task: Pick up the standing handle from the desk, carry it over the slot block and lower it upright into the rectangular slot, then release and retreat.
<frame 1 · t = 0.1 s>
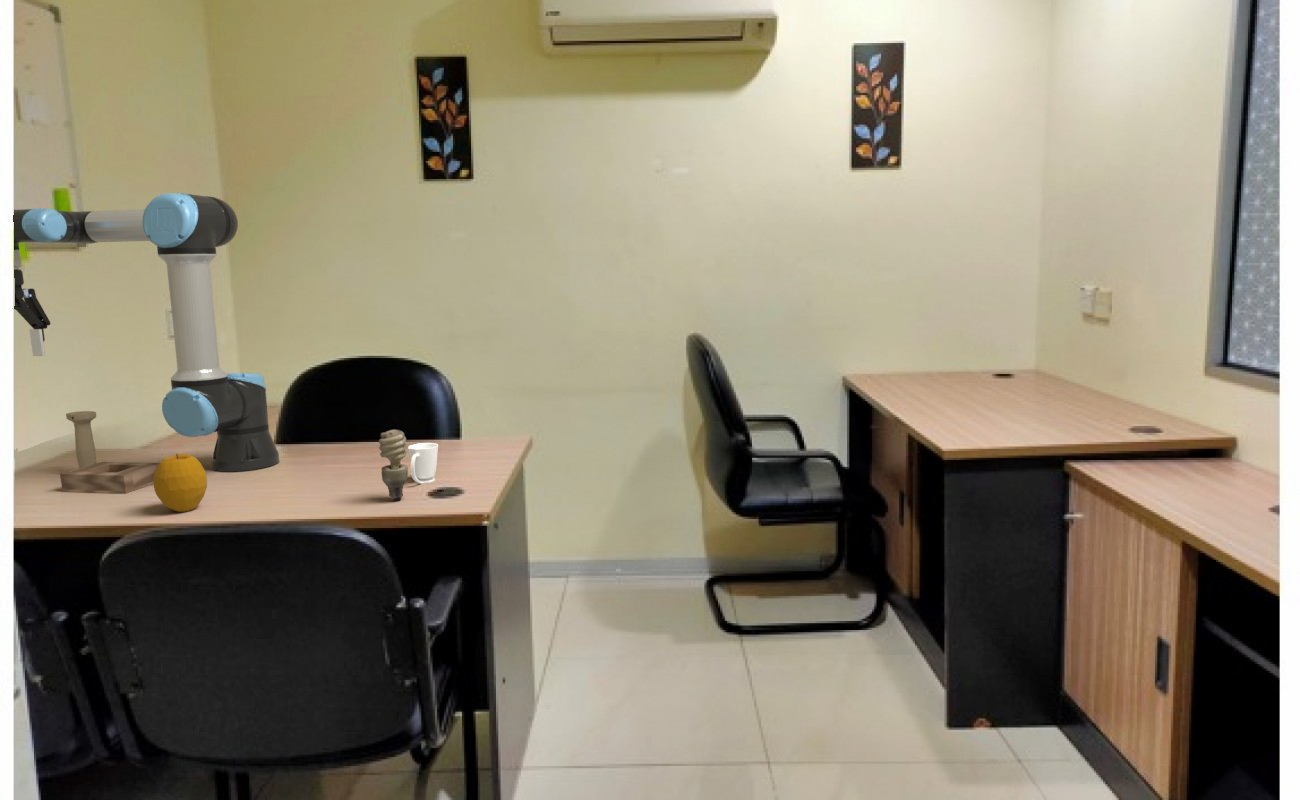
hand: (14, 359, 208), 28 cm above the table, fingers open, 13 cm apart
apple: (184, 510, 178), on the table
slot block: (114, 485, 198), on the table
handle: (88, 475, 210), on the table
cup: (422, 483, 196), on the table
light bulb: (396, 501, 181), on the table
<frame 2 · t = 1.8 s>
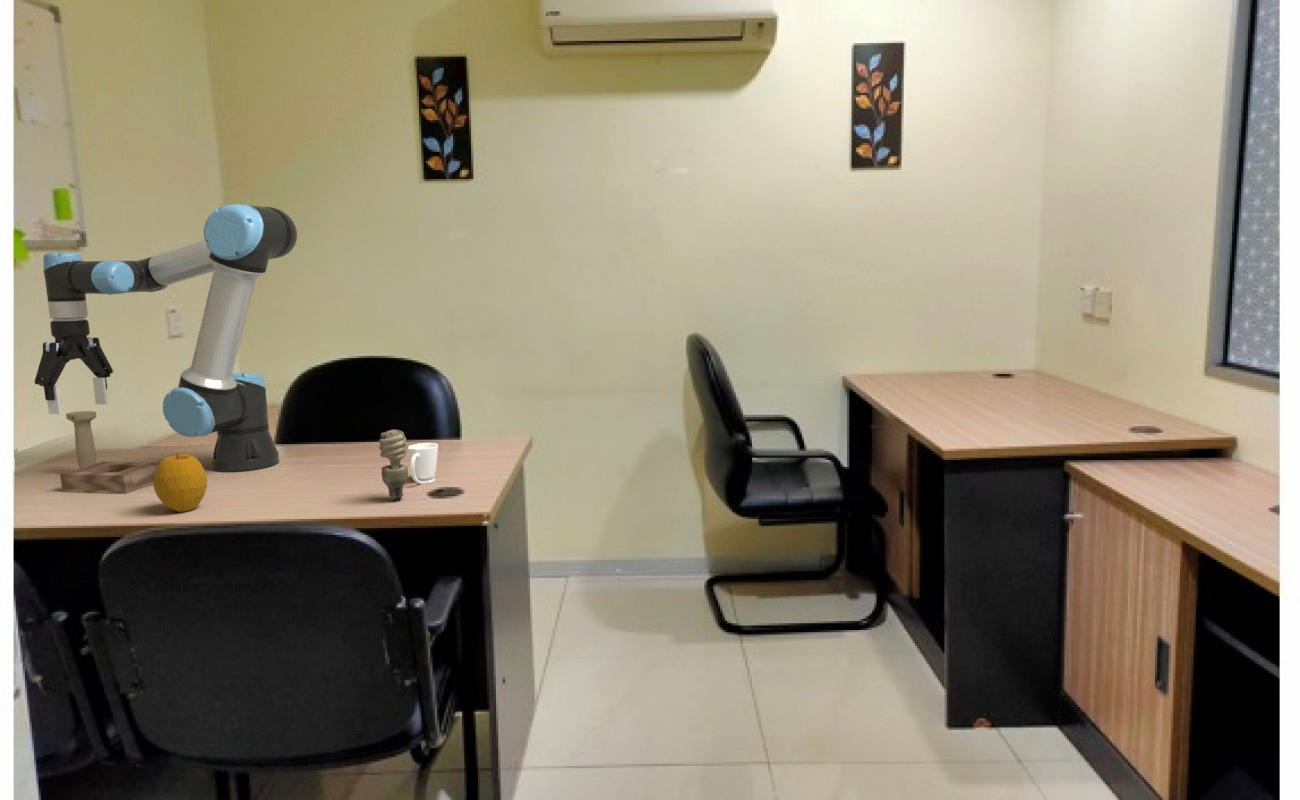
hand: (79, 409, 207), 16 cm above the table, fingers open, 13 cm apart
nothing on the table moved.
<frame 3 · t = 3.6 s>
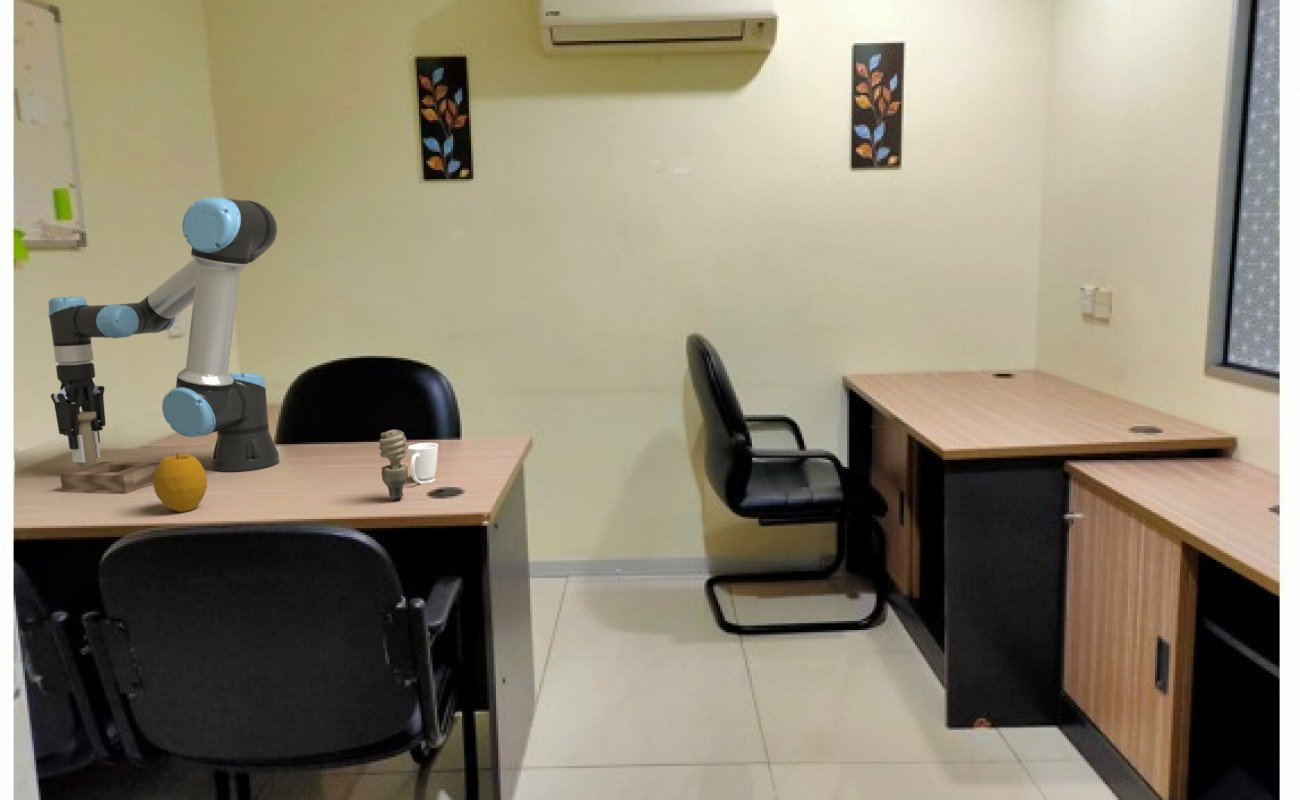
hand: (86, 459, 209), 4 cm above the table, fingers closed on handle, 4 cm apart
handle: (88, 475, 210), on the table, touching gripper
everything else where it was.
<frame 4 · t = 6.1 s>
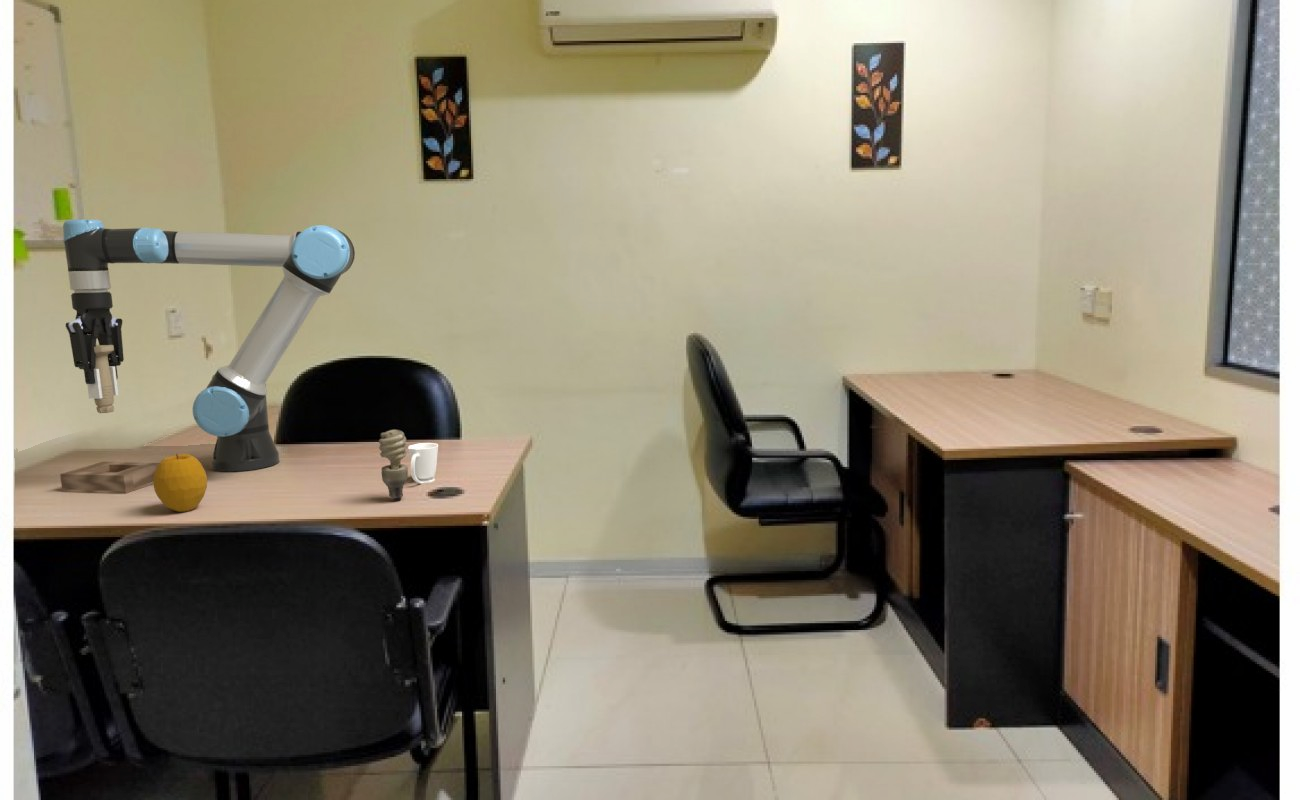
hand: (103, 396, 195), 21 cm above the table, fingers closed on handle, 4 cm apart
handle: (105, 413, 196), point 17 cm above the table, touching gripper
everything else where it was.
when the fingers open (5 cm above the table, at t = 8.5 s): handle stays where it is, point 1 cm above the table.
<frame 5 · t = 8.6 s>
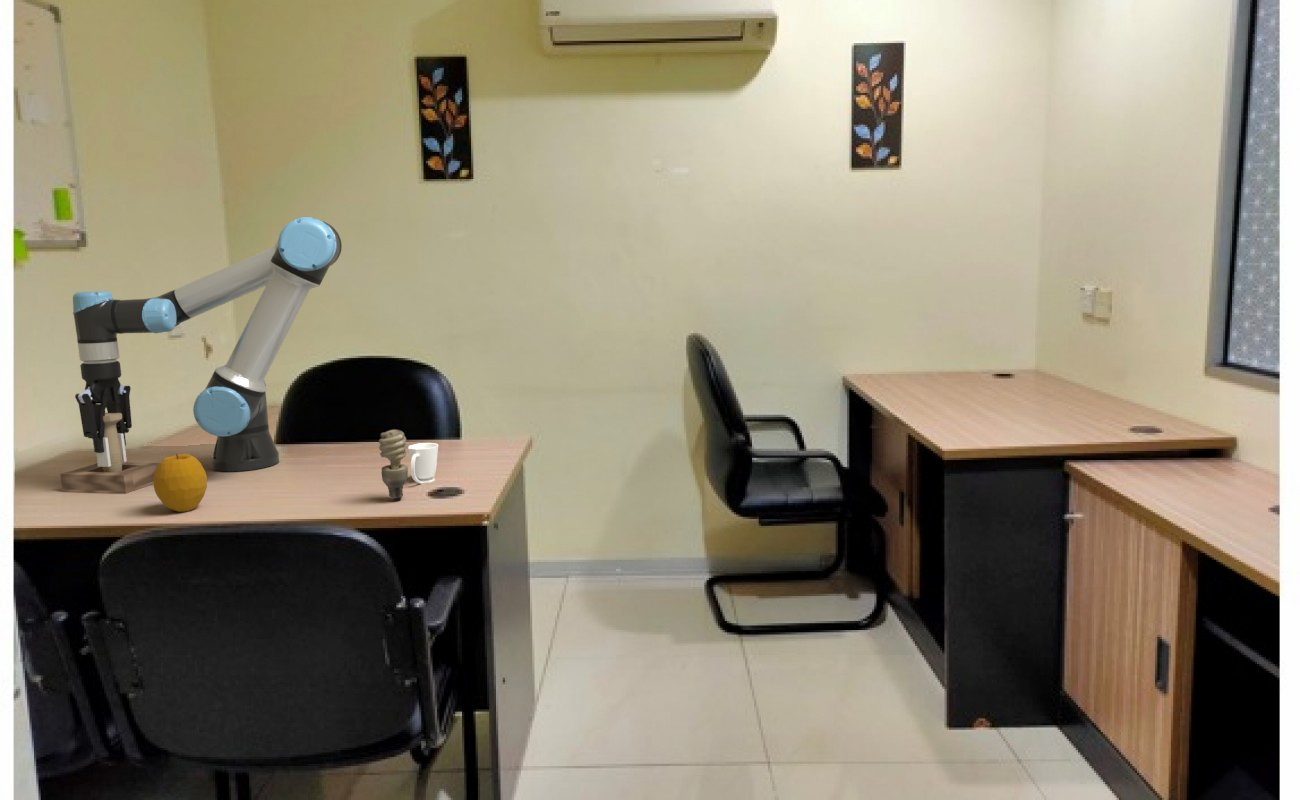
hand: (112, 463, 197), 5 cm above the table, fingers open, 4 cm apart
handle: (114, 480, 198), point 1 cm above the table
everything else where it was.
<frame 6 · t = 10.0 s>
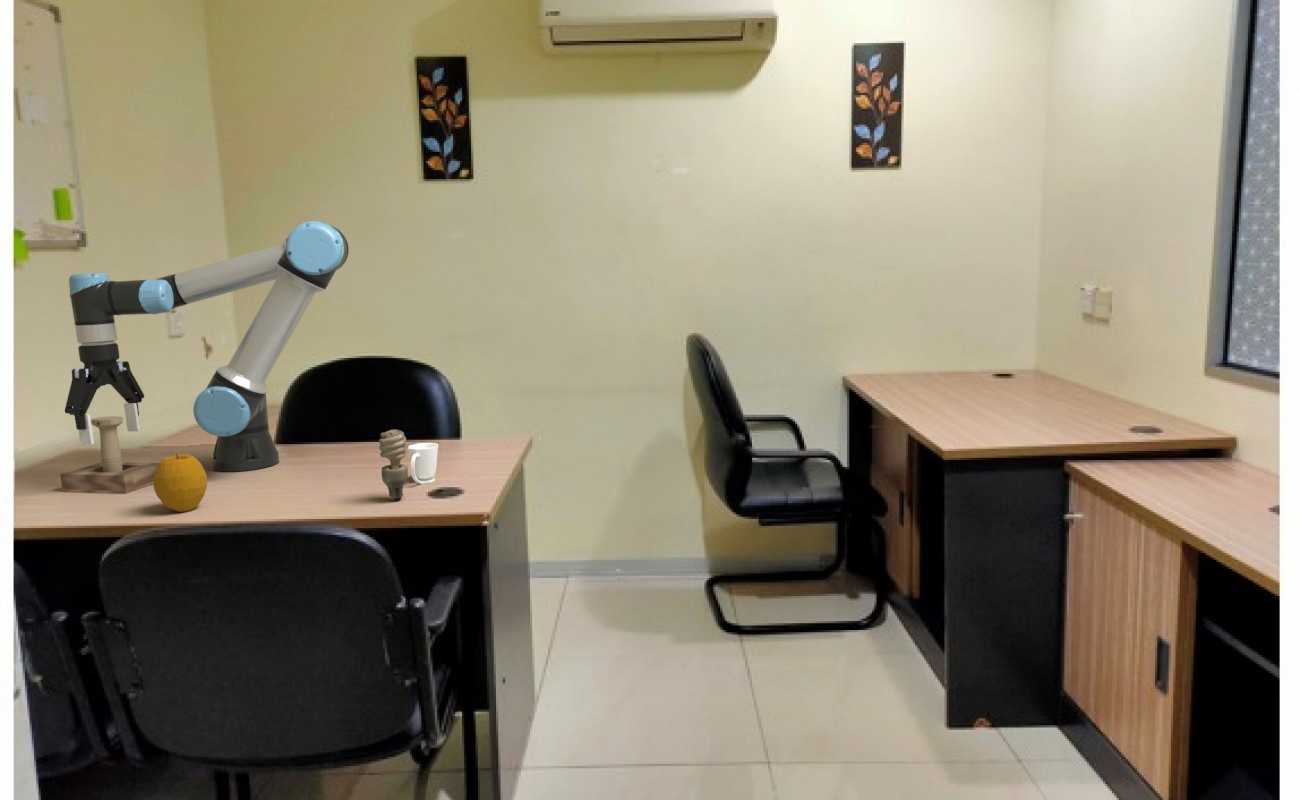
hand: (111, 437, 197), 11 cm above the table, fingers open, 13 cm apart
handle: (114, 484, 198), resting on slot block
everything else where it was.
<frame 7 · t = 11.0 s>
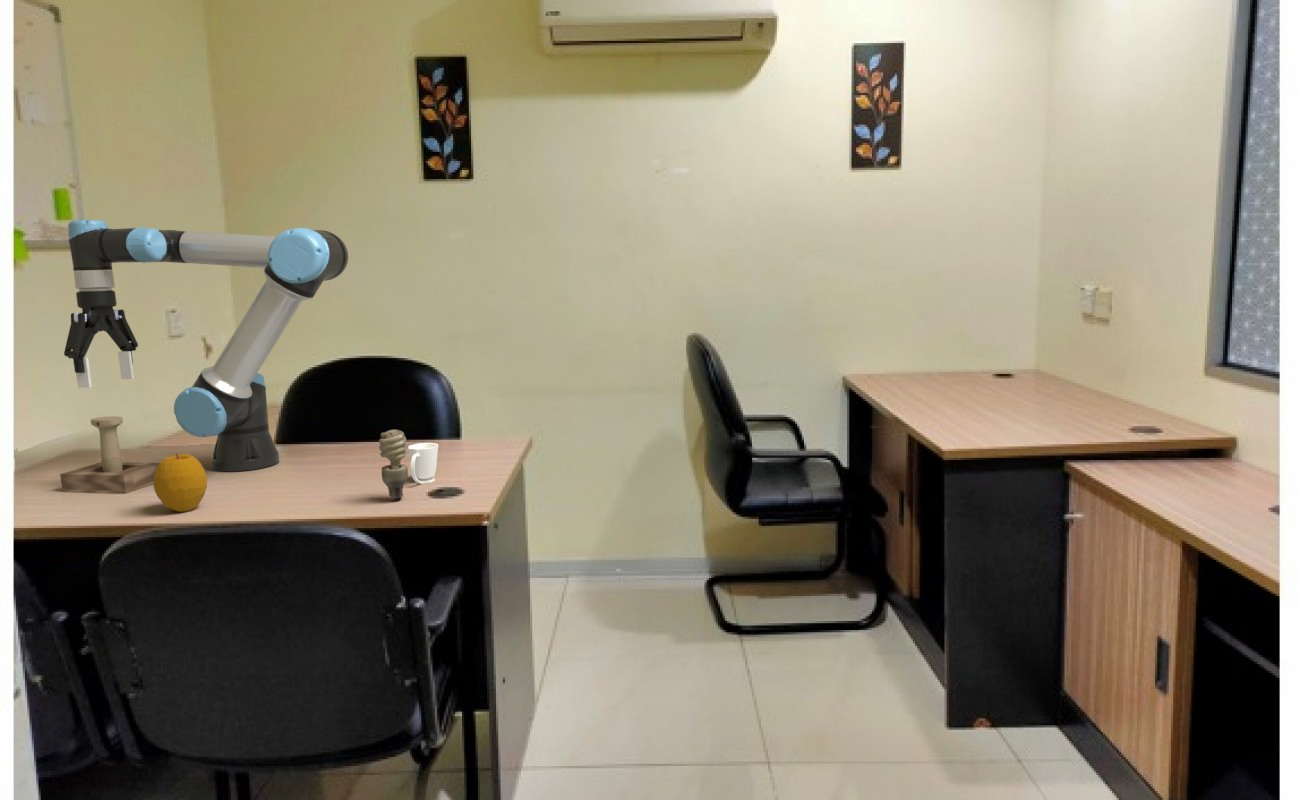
hand: (107, 383, 200), 23 cm above the table, fingers open, 13 cm apart
nothing on the table moved.
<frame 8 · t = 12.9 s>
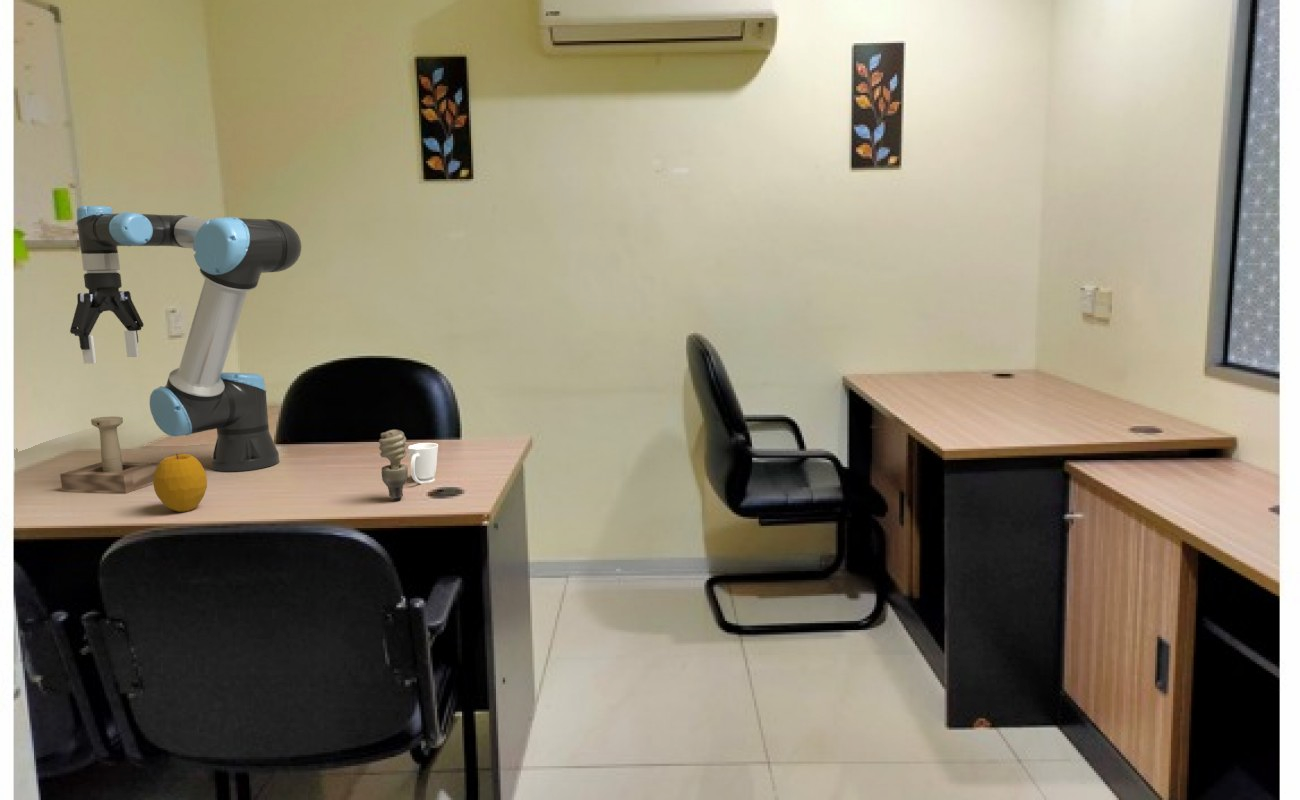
hand: (112, 360, 213), 27 cm above the table, fingers open, 13 cm apart
nothing on the table moved.
at the end: handle inside the target area on the slot block (0.0 cm from its centre), point 0.3 cm above the slot block's base; handle tilted 0°; handle touching slot block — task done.
